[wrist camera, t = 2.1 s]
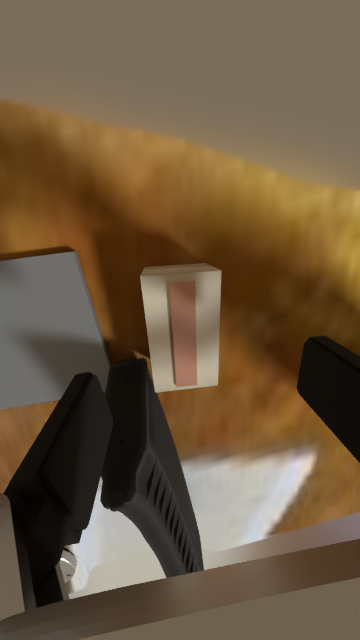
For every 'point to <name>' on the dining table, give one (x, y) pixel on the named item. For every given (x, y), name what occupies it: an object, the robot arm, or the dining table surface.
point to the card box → (182, 324)
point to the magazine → (148, 470)
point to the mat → (46, 329)
